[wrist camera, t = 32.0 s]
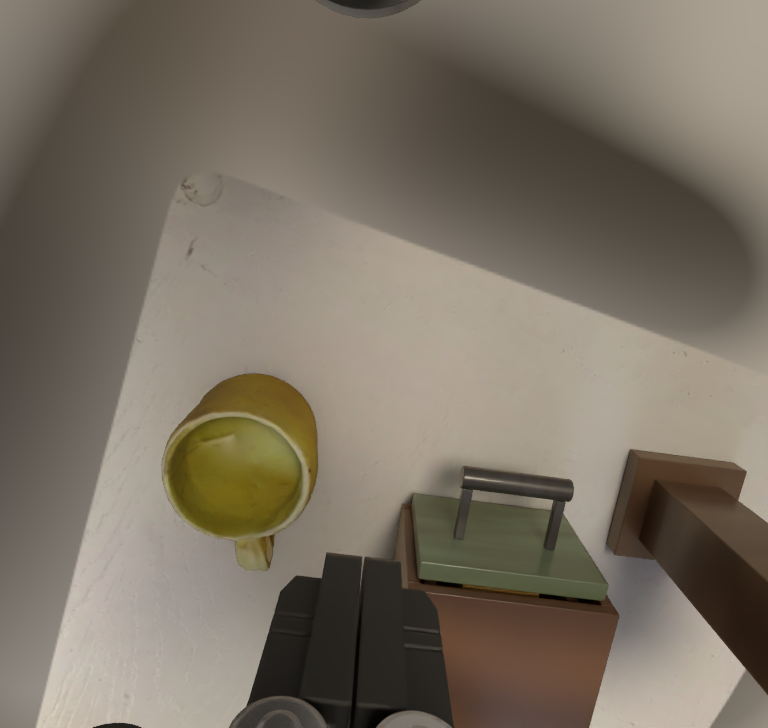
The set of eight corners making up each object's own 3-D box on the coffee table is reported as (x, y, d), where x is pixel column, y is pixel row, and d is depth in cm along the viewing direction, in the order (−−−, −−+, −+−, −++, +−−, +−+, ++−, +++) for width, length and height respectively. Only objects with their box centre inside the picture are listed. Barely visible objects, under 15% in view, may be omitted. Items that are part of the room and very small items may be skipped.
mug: (168, 349, 37) (157, 429, 29) (316, 354, 41) (345, 426, 32) (168, 493, 42) (159, 597, 34) (299, 486, 46) (321, 579, 37)
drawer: (423, 431, 40) (433, 485, 31) (576, 451, 40) (628, 510, 32) (388, 645, 44) (389, 744, 36) (527, 662, 44) (561, 764, 36)
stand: (630, 448, 41) (896, 682, 20) (734, 462, 41) (1107, 707, 20) (605, 543, 43) (825, 851, 22) (705, 556, 43) (1019, 873, 22)
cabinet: (402, 502, 42) (408, 589, 32) (563, 523, 43) (620, 615, 32) (377, 661, 46) (375, 787, 35) (526, 679, 46) (567, 808, 36)
